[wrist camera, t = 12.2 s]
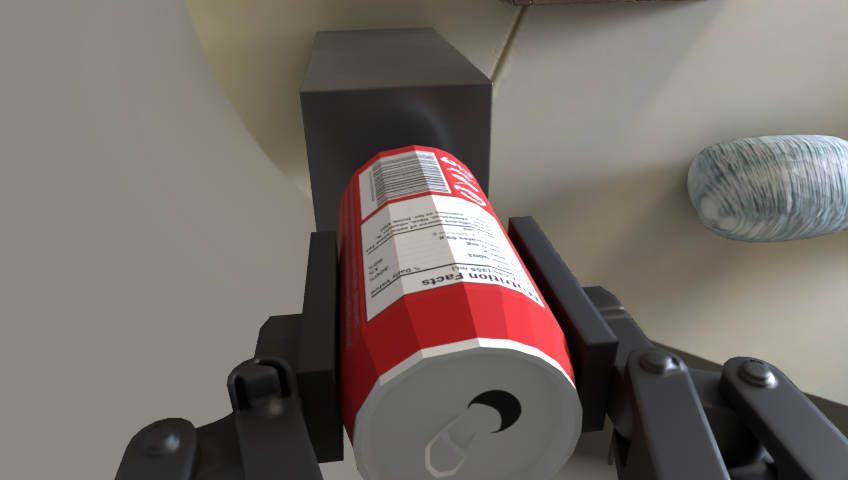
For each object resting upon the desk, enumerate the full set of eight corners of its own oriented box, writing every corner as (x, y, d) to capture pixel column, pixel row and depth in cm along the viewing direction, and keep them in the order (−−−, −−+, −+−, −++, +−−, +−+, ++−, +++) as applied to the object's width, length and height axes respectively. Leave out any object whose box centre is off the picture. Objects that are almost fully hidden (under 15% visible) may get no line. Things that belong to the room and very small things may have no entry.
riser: (328, 144, 42) (320, 262, 26) (317, 31, 38) (299, 91, 23) (433, 137, 43) (487, 249, 27) (432, 27, 39) (493, 82, 23)
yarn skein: (889, 111, 43) (938, 210, 37) (813, 191, 51) (844, 284, 45) (710, 85, 44) (730, 180, 38) (661, 168, 52) (673, 257, 46)
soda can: (394, 291, 24) (437, 568, 13) (309, 198, 21) (278, 446, 11) (504, 218, 23) (644, 453, 12) (427, 111, 20) (520, 290, 10)
